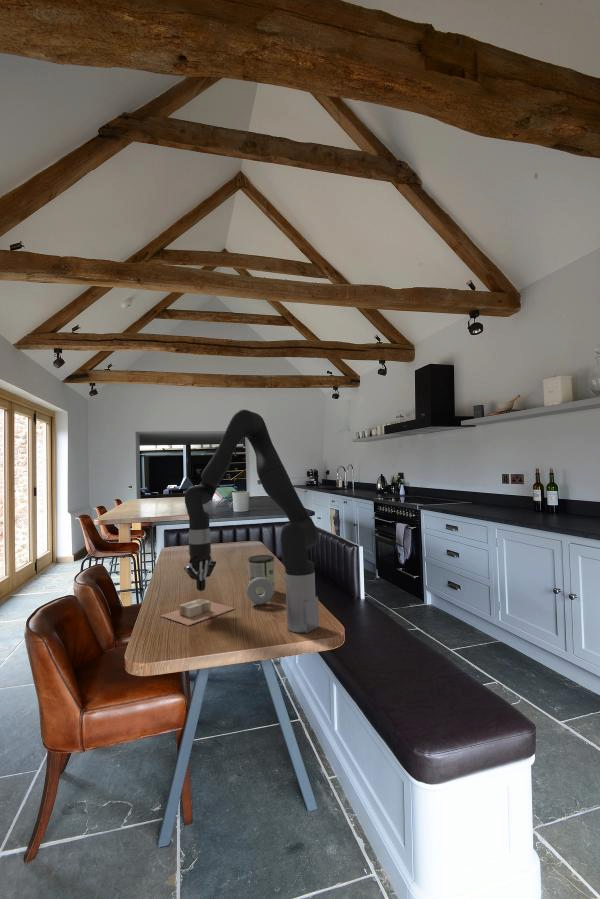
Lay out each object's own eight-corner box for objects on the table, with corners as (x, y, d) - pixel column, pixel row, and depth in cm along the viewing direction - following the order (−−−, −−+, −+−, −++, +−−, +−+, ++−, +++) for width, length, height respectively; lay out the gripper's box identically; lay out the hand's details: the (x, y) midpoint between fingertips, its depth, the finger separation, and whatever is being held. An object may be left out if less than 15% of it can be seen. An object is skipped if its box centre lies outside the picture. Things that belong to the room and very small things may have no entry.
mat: (234, 609, 158) (234, 608, 158) (188, 626, 143) (188, 625, 143) (206, 601, 168) (206, 600, 168) (160, 616, 153) (160, 615, 153)
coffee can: (252, 589, 183) (251, 554, 184) (277, 589, 182) (276, 554, 182) (246, 596, 173) (245, 560, 174) (272, 596, 172) (271, 560, 172)
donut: (247, 607, 160) (246, 579, 161) (246, 604, 164) (246, 577, 164) (274, 604, 162) (273, 577, 162) (273, 602, 165) (272, 575, 165)
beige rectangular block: (210, 601, 156) (189, 608, 149) (210, 610, 156) (189, 618, 149) (199, 598, 160) (178, 605, 153) (200, 607, 160) (179, 614, 153)
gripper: (190, 545, 150) (192, 596, 150) (221, 539, 160) (222, 587, 160) (177, 543, 155) (179, 593, 154) (207, 537, 165) (209, 584, 165)
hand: (201, 590), depth 157 cm, fingers closed
